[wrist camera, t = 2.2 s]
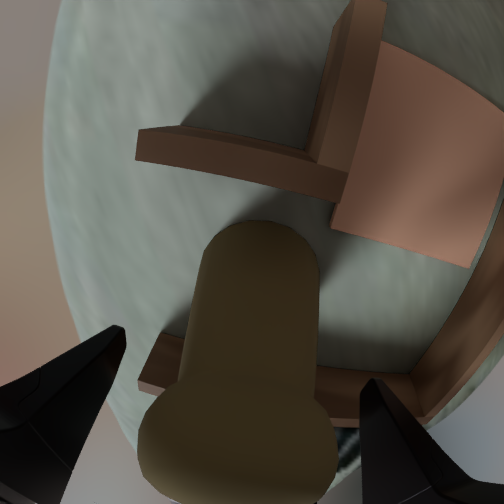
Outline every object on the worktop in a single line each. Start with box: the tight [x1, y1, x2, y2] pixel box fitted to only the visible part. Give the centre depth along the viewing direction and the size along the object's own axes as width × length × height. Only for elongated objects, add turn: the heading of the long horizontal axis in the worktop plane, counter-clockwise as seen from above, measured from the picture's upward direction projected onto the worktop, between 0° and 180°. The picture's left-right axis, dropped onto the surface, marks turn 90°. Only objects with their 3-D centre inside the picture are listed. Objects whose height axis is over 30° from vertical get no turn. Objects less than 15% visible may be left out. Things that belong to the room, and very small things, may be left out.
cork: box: [137, 220, 339, 504], centre depth 9 cm, size 6×6×11 cm
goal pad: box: [329, 40, 504, 269], centre depth 11 cm, size 9×9×1 cm
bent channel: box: [135, 0, 504, 427], centre depth 11 cm, size 19×18×4 cm
